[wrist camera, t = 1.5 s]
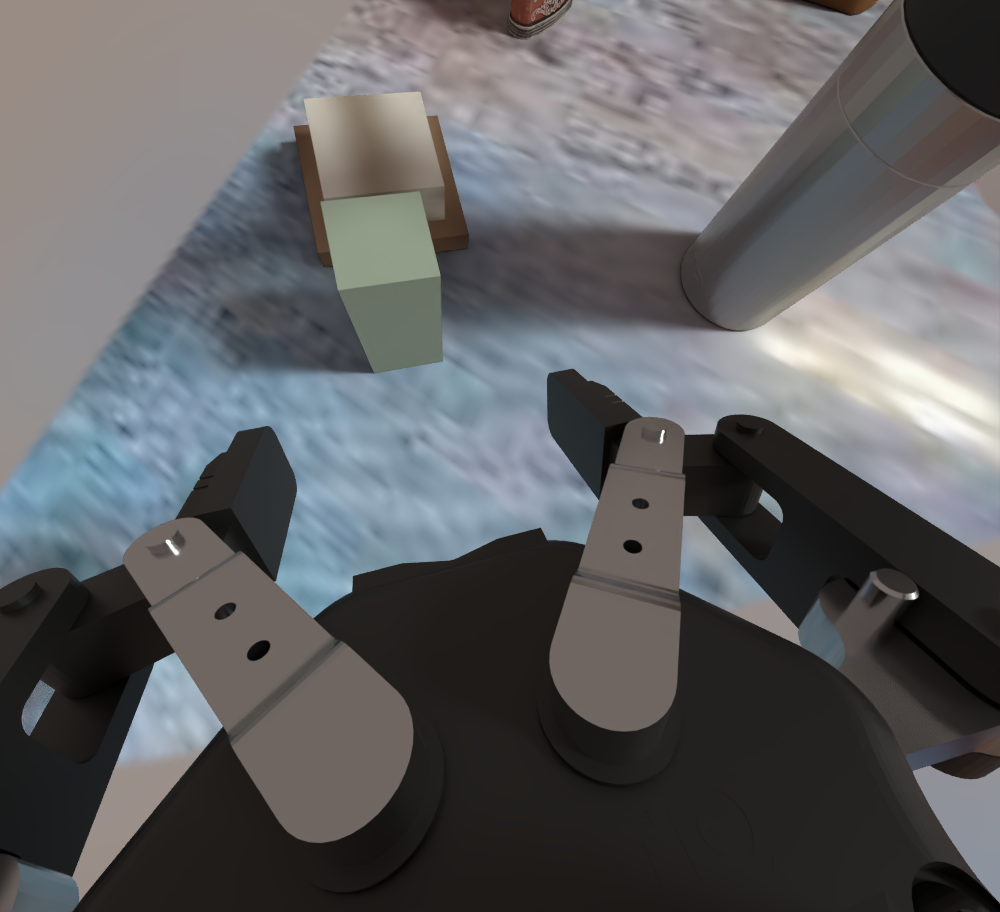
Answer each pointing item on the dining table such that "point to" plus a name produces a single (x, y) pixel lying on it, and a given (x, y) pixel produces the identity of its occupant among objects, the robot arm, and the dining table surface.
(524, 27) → the lighter
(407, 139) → the build base
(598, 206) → the dining table surface
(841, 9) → the pancake mix bag
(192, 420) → the dining table surface
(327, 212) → the green post
